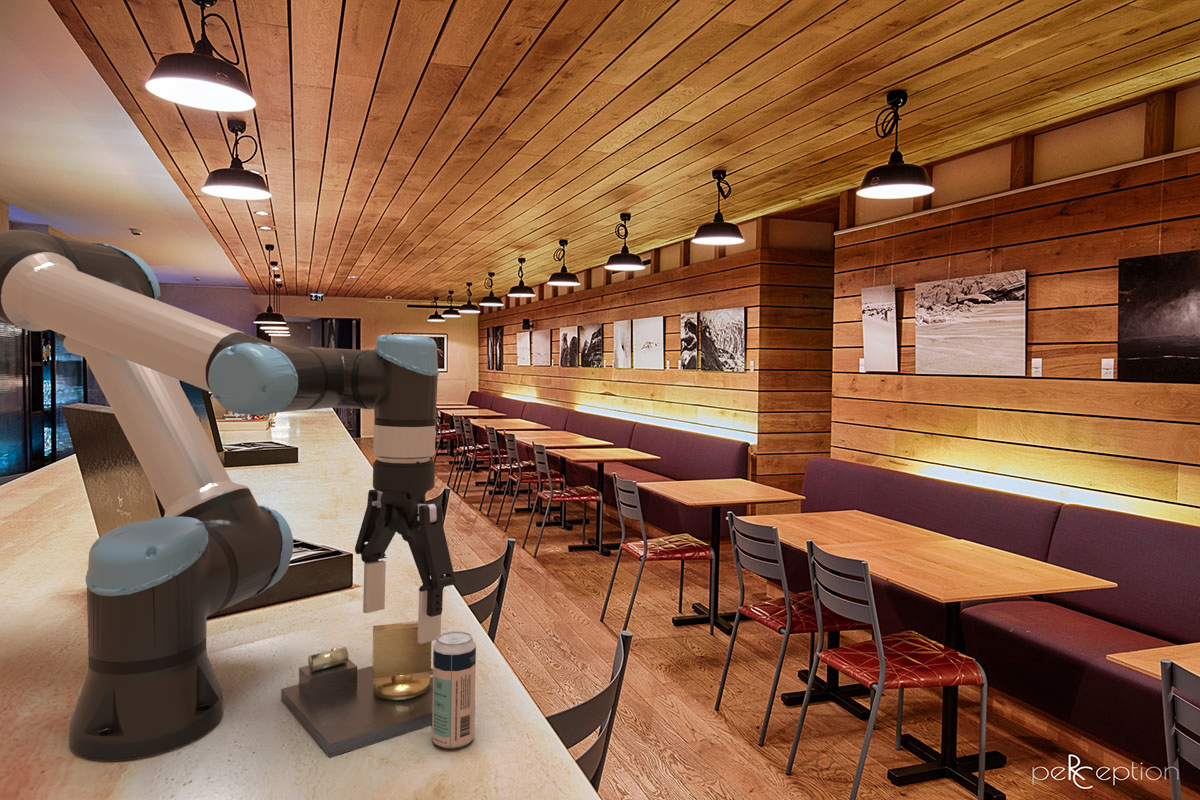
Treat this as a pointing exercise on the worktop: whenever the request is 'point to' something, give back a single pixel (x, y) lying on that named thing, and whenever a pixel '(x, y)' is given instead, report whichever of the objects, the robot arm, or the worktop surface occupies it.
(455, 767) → the worktop surface
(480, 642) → the worktop surface
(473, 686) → the beer can
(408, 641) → the gold disc with bar
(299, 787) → the worktop surface
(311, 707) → the grey base plate
